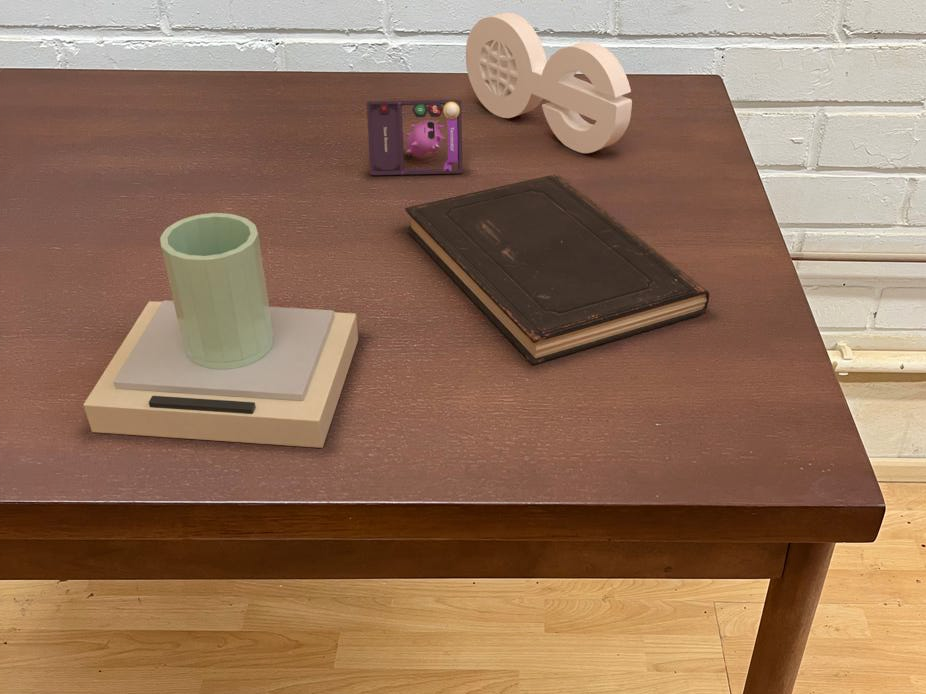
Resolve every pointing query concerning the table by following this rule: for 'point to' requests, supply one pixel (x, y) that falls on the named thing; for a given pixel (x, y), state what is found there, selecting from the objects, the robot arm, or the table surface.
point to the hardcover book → (553, 267)
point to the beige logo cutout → (549, 82)
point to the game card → (412, 135)
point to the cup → (218, 289)
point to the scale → (227, 382)
